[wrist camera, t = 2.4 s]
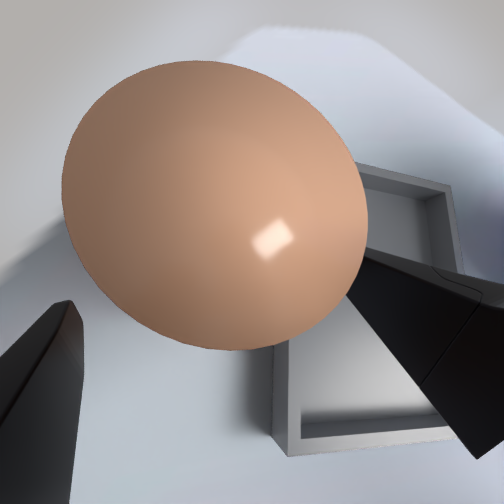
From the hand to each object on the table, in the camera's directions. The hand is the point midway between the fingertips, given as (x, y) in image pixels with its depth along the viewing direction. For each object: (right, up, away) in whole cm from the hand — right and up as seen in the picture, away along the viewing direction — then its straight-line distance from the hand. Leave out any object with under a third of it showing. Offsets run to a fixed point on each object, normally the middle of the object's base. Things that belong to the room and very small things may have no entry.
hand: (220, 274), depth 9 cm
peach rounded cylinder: (-3, -1, +8) cm, 9 cm away
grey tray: (+10, -2, +12) cm, 16 cm away
